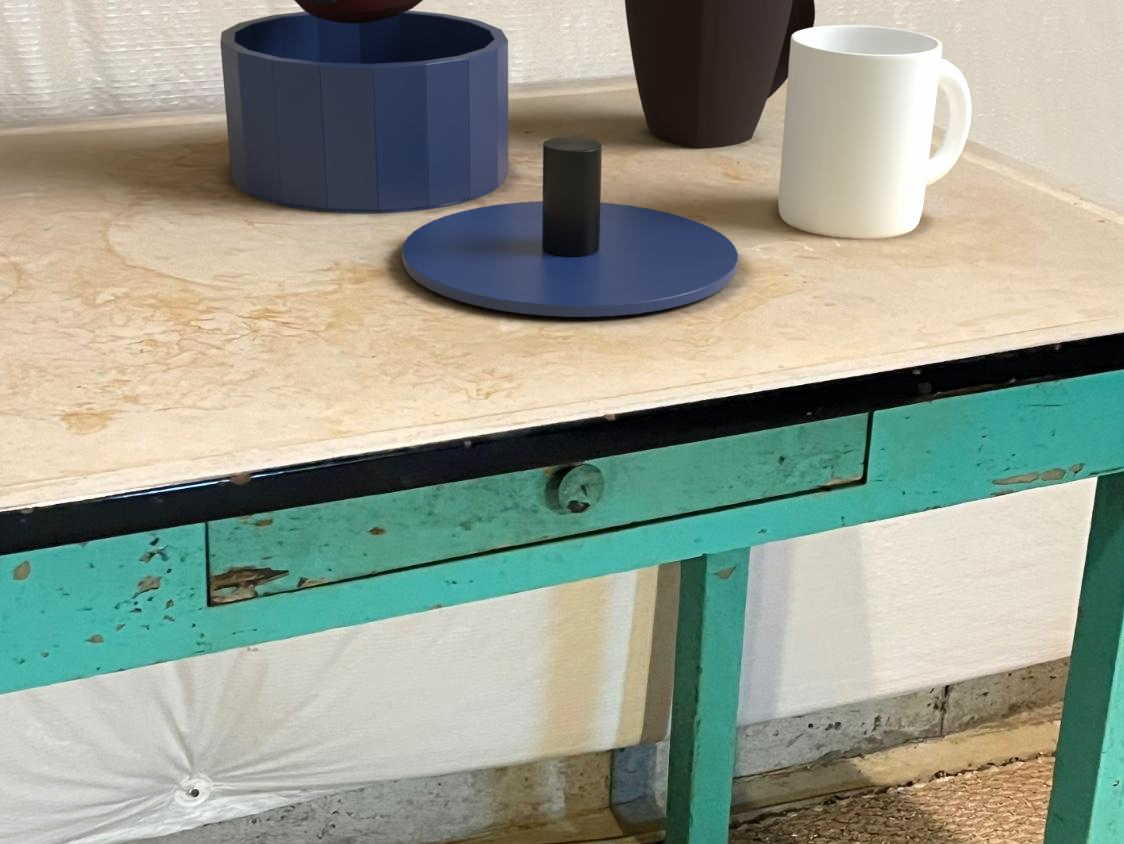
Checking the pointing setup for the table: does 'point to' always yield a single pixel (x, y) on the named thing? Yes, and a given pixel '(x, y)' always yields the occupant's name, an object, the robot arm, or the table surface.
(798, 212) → the mug
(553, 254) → the lid
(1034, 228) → the table surface
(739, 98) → the mug
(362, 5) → the potato
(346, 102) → the pot
